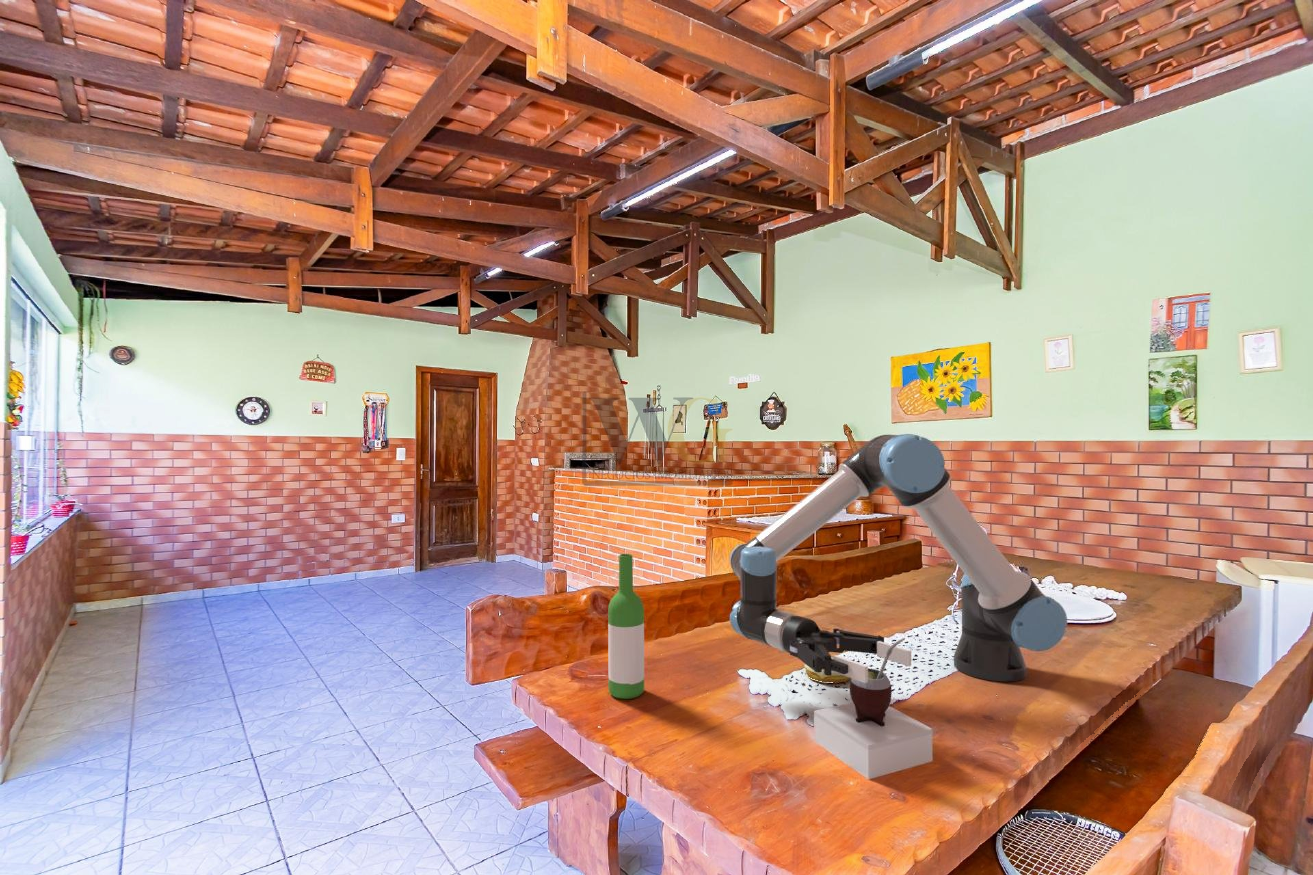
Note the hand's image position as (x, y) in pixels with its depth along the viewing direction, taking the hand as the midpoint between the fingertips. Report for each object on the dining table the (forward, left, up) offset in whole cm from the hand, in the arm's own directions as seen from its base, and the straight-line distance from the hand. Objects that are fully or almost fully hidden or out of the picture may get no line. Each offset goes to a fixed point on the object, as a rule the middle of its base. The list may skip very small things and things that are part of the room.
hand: (889, 666), depth 108 cm
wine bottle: (+54, -4, -16) cm, 57 cm away
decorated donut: (+17, -33, -16) cm, 40 cm away
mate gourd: (+3, -2, -11) cm, 11 cm away
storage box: (+3, -2, -16) cm, 17 cm away
